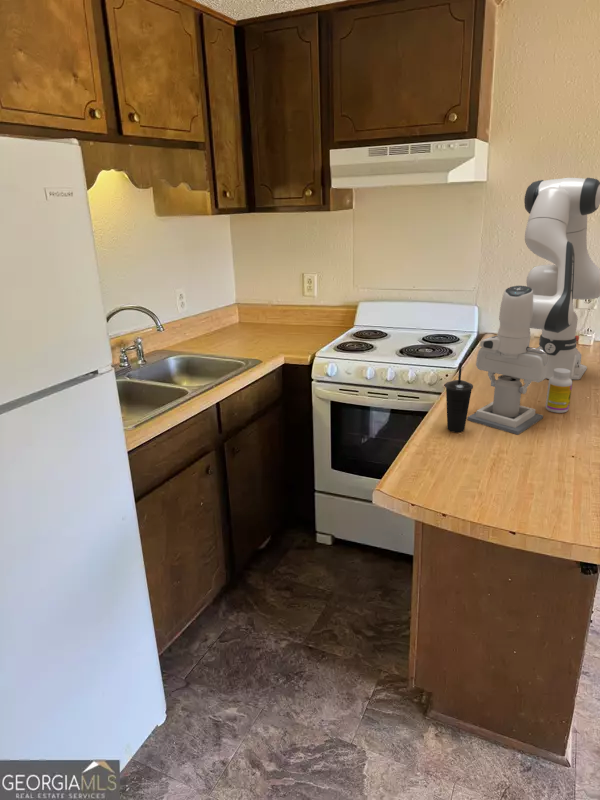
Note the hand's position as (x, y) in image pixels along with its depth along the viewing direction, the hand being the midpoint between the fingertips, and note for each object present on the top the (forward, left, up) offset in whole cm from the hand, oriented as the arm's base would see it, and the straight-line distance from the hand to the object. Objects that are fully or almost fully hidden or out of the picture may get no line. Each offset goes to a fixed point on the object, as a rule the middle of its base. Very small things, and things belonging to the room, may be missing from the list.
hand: (508, 389), depth 168 cm
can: (0, 0, -8) cm, 8 cm away
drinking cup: (+16, -7, -10) cm, 20 cm away
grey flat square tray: (0, 0, -10) cm, 10 cm away
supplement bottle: (-18, +8, -10) cm, 22 cm away
